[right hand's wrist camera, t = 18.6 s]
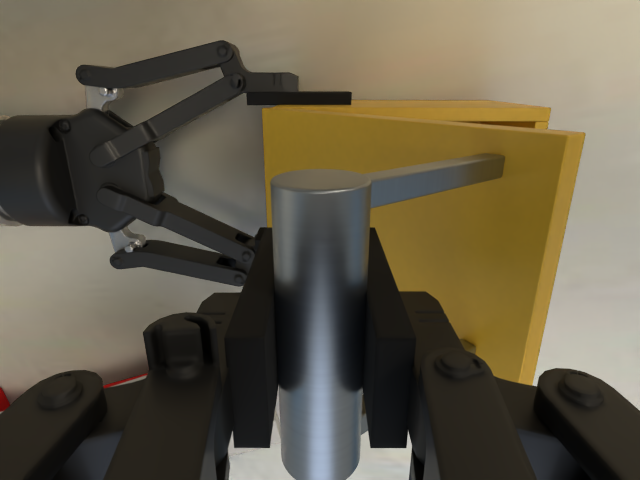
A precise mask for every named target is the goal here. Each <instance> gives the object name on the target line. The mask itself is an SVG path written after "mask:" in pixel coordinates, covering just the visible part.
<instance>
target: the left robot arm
mask: <svg viewBox="0 0 640 480" xmlns="http://www.w3.org/2000/svg"><path fill="white" fill-rule="evenodd" d="M217 67H221V70H222V72H223V75H224V77H223V78H222V79H220V80H218V81H216V82H215V83H213V84H211V85H209V86H207V87H206V88H204V89H202V90H200V91H199V92H197V93H195V94H193V95H191V96H190V97H188V98H186V99H184V100H183V101H181V102H179V103H177V104H175V105H174V106H172V107H170V108H168V109H167V110H165V111H163V112H161V113H159V114H158V115H156V116H154V117H152V118H151V119H149V120H147V121H144V122H142V123H140V124H138V125H136V126H132V125H131V124H129V123H128V122H126V121H125V120H123V119H122V118H120V117H119V116H117V115H116V114H114V113H113V112H111V111H110V110H108V107H109V104H110V103H111V102H112V101H114V100H119V99H121V98H122V97H123V95H124V88H137V87H142V86H146V85H150V84H154V83H158V82H162V81H166V80H170V79H174V78H178V77H182V76H186V75H190V74H194V73H197V72H201V71H205V70H209V69H213V68H217ZM76 78H77V79H78V81H79V82H80V83H81V84H83V85H85V91H86V107H87V109H85V110H83V111H81V112H80V113H78V114H76V115H17V116H13V117H9V116H6V115H0V226H20V225H27V226H93V227H97V228H99V229H101V230H103V231H106V232H109V235H110V238H111V241H112V244H113V248H114V251H115V253H114V254H113V255H112V256H111V257H110V263H111V265H112V266H113V267H114V268H116V269H127V268H136V267H147V268H152V269H157V270H162V271H166V272H171V273H176V274H181V275H186V276H190V277H195V278H200V279H205V280H210V281H215V282H219V283H224V284H229V285H234V286H243V285H244V283H245V281H246V278H247V275H248V273H249V270H250V267H251V265H252V262H253V259H254V257H255V254H256V251H257V249H258V246H259V243H260V241H261V238H262V235H263V233H264V230H265V227H260V228H259V231H258V233H257V234H256V236H255V237H253V236H250V235H248V234H246V233H244V232H242V231H240V230H238V229H235V228H233V227H231V226H229V225H227V224H225V223H222V222H220V221H218V220H216V219H214V218H212V217H210V216H207V215H205V214H203V213H201V212H199V211H197V210H194V209H192V208H190V207H188V206H186V205H184V204H182V203H180V202H178V200H177V199H176V198H174V197H172V196H170V195H168V194H166V193H164V192H163V191H164V183H163V179H162V176H161V174H160V171H159V164H160V152H159V147H156V146H155V144H154V143H155V142H156V141H158V140H160V139H162V138H164V137H166V136H167V135H169V134H170V133H172V132H174V131H176V130H177V129H179V128H181V127H183V126H185V125H186V124H188V123H190V122H192V121H194V120H196V119H197V118H199V117H201V116H203V115H205V114H206V113H208V112H210V111H212V110H214V109H215V108H217V107H219V106H221V105H223V104H225V103H226V102H228V101H230V100H232V99H234V98H235V97H237V96H239V95H241V94H243V93H247V105H351V95H352V92H299V83H298V76H296V75H294V74H292V73H252V72H249V71H248V70H247V69H246V68H245V67H244V65H243V62H242V60H241V57H240V53H239V50H238V48H237V47H236V46H235V45H233V44H231V43H229V42H226V41H224V40H221V41H216V42H212V43H208V44H204V45H201V46H197V47H193V48H189V49H185V50H181V51H178V52H174V53H170V54H166V55H162V56H158V57H154V58H151V59H147V60H143V61H139V62H135V63H131V64H127V65H124V66H120V67H116V68H113V67H106V66H94V65H80V66H79V67H78V68H77V69H76ZM135 219H139V220H141V221H144V222H146V223H148V224H150V225H153V226H162V227H165V228H167V229H169V230H171V231H173V232H176V233H178V234H180V235H182V236H185V237H187V238H189V239H191V240H193V241H196V242H198V243H200V244H202V245H204V246H207V247H209V248H211V249H213V250H216V251H218V252H220V253H216V252H212V251H207V250H202V249H197V248H193V247H188V246H183V245H179V244H174V243H169V242H165V241H159V240H146V238H145V236H144V235H140V234H134V233H132V232H131V231H130V230H129V229H128V227H127V226H128V225H129V224H130V223H131V222H133V221H134V220H135ZM221 253H222V254H221Z"/></svg>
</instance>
